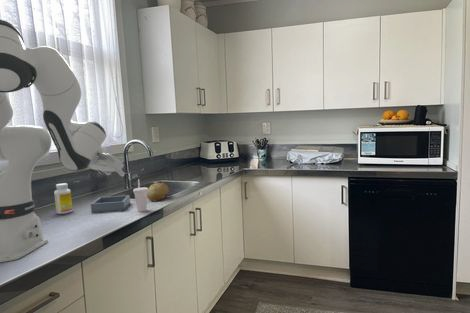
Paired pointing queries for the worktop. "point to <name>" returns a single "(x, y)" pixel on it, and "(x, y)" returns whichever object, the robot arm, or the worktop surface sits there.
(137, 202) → the smoothie
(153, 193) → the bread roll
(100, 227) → the worktop surface
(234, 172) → the worktop surface
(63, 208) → the supplement bottle
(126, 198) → the tray
